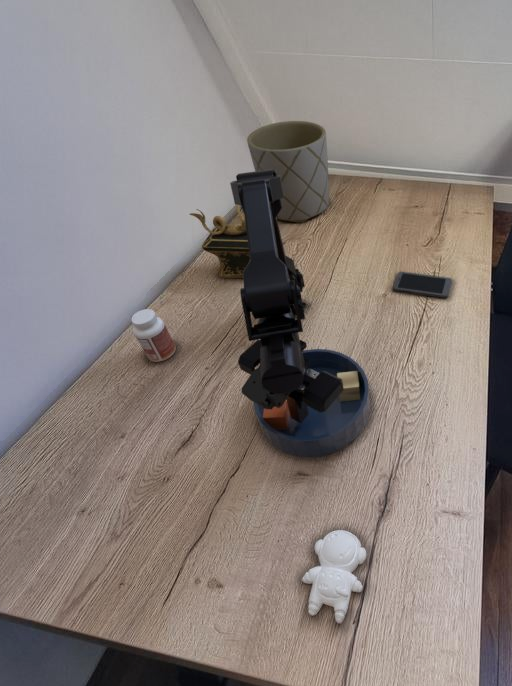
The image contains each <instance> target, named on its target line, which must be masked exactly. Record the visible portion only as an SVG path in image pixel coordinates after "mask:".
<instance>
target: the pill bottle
mask: <svg viewBox="0 0 512 686" xmlns="http://www.w3.org/2000/svg"><path fill="white" fill-rule="evenodd" d="M131 323H132V325H133V329H132V330H133V334H134V336H135V338H136V340H137V341H138V343H139V345H140V347H141V349H142V350H143V352H144V354H145V356H146V357H147V359H148V360H149V361H151V362H155V363H160V362H164V361H166V360H168V359H170V358H171V357H172V356H173V355H174V353H176V344H175V342H174V340H173V338H172V336H171V334H170V332H169V331H168V328H167V325H166V323H165V322H164V320H163V319H162V318H160V317H158V316H157V314H156V312H155V311H154V310H153V309H150V308H144V309H141V310H138V311H136V312H135V313H134V314H133V315H132V316H131Z"/></svg>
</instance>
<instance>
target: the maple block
mask: <svg viewBox="0 0 512 686" xmlns="http://www.w3.org/2000/svg"><path fill="white" fill-rule="evenodd" d="M337 377H339V378H341V379H342V382H343V389H344V390H343V391H342V392H341V394H340V395H339V398H340V402H342V401H351V400H360V391H359V381H358V372H357V371H352V372H343V373H337Z"/></svg>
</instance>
